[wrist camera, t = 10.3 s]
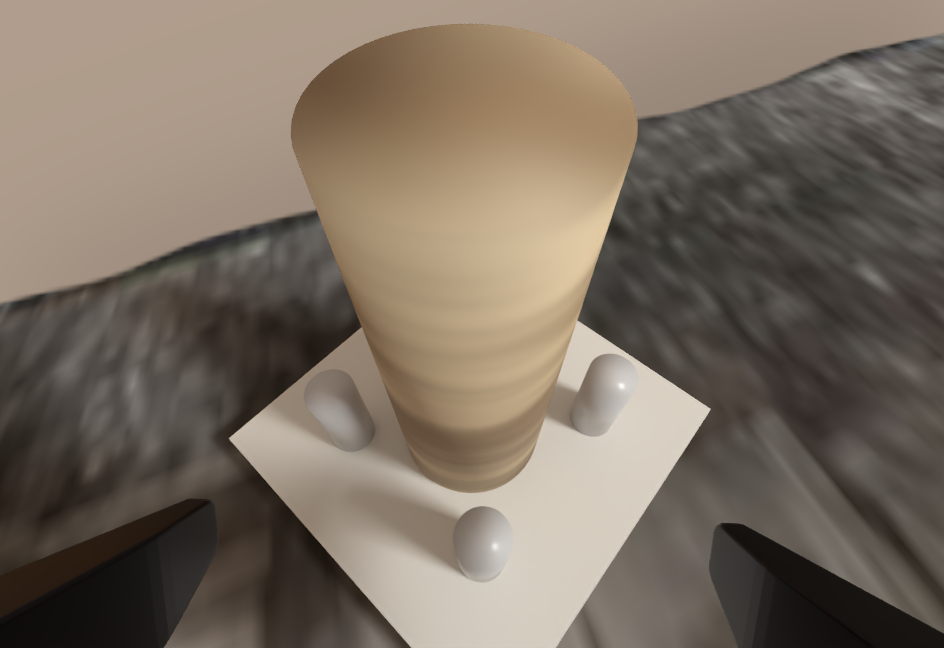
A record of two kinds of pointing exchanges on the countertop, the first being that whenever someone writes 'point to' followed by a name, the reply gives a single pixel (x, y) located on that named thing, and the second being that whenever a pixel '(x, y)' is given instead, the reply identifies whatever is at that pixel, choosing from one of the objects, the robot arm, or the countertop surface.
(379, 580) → the pin plate
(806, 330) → the countertop surface
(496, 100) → the maple post
